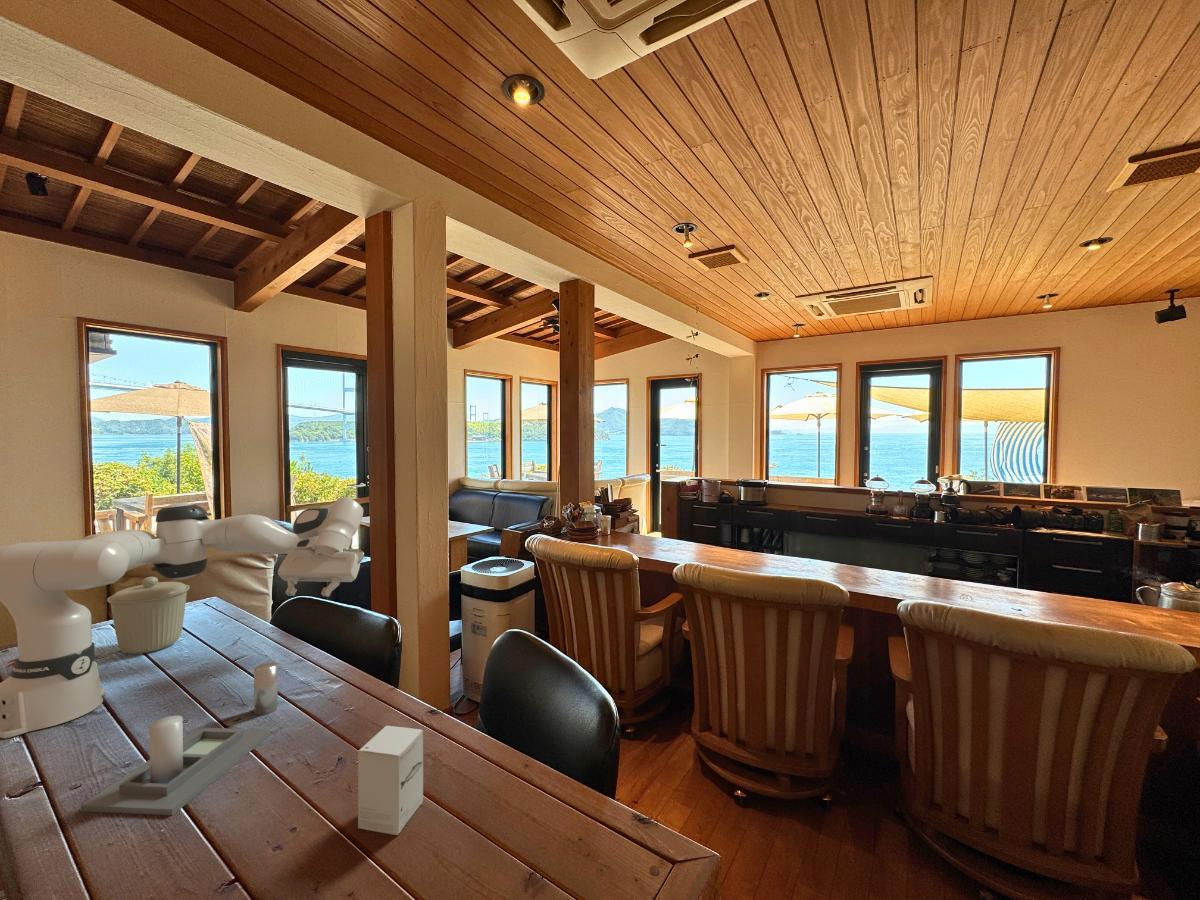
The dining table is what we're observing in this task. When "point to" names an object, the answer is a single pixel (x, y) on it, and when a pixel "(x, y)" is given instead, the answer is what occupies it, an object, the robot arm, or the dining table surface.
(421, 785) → the supplement box
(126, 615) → the canister
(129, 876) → the dining table surface
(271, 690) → the cylinder
